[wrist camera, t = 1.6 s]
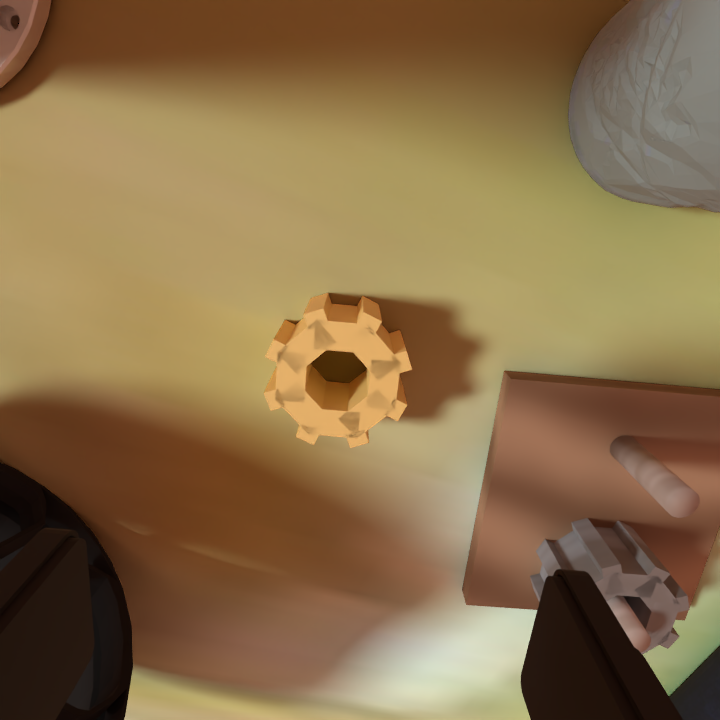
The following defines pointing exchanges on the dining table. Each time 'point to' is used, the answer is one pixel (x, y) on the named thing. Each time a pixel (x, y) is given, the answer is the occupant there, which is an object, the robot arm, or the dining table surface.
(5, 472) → the car wheel rim
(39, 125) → the dining table surface
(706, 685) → the pipe connector
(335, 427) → the ochre gear
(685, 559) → the board
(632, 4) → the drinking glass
